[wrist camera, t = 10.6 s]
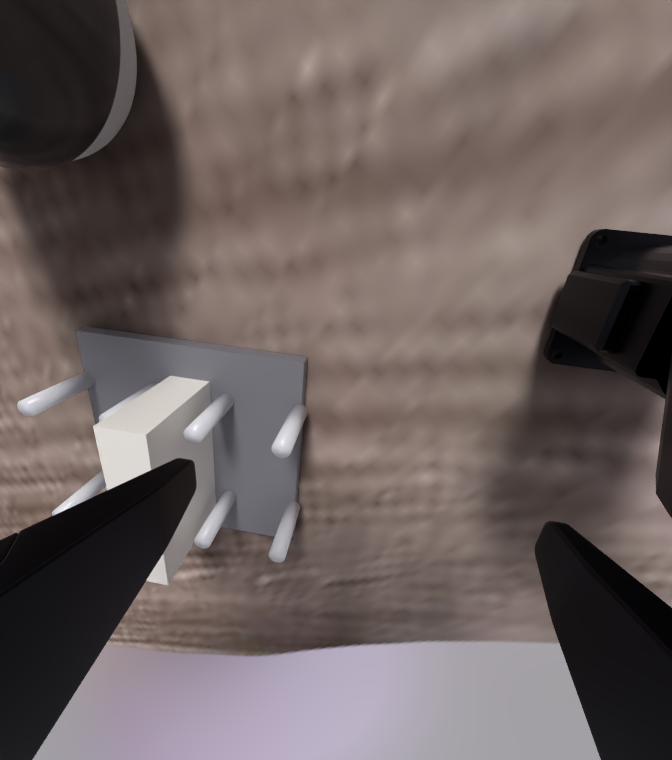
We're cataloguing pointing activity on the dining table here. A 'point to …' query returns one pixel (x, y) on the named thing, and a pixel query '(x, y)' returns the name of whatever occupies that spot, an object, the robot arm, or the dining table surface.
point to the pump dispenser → (63, 79)
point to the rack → (207, 420)
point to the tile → (162, 454)
